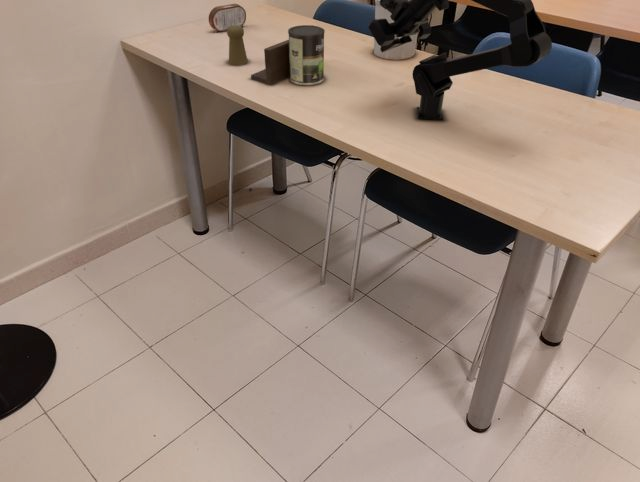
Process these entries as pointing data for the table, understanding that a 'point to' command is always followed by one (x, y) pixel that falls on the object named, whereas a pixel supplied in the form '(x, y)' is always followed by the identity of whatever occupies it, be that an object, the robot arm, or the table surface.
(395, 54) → the utensil holder
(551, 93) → the table surface
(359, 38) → the table surface
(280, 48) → the walnut bookend
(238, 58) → the olive green pawn
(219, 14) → the tin
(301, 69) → the coffee can
